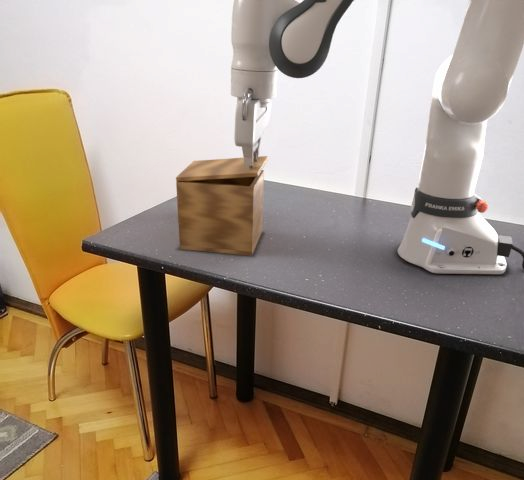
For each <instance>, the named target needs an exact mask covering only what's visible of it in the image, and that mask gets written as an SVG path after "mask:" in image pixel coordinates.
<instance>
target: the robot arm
mask: <svg viewBox="0 0 524 480" xmlns="http://www.w3.org/2000/svg"><path fill="white" fill-rule="evenodd" d="M355 1H356V0H302V1H301V2H299V1H297V0H234V1H233V5H232V11H231V12H232V13H231V15H232V16H231V29H230V30H231V31H230V41H231V46H232V59H231V63H230V95H231V96H232V97H234V98H236V105H235V115H234V117H235V118H234V135H233V140H234V145H235V146H236V147H239V148H240V147H241V151H242V157H243V158H244V161H243V164H244V165H245V166H252V164H253V160H254V156H253V148H254V145H255V143H256V142H258V147H257V149H256V153H257V157H259V156H260V149H261V147H260V146H261V141H262V136H263V135H264V133H265V132H266V130H267V129H268V127H269V124H270V123H269V122H270V119H271V118H270V117H271V110H272V102H273V99H275V98H276V97H277V96H278V95H277V93H278V75H279V74H278V73H279V71H280V72H281V73H282V74H284V75H285V76H286V77H289V78H293V79H303V78H304V79H305V78H308V77H310V76H312V75H314V74H315V73H317V72H318V71H319V70H320V69H321V68H322V66H324V64H325V62H326V59H327V58H328V55H329V53H330V50H331V45H332V41H333V37H334V34H335V32H336V29H337V28H338V26H339V24H340V23H341V21H342V19H343V18H344V16H345V15H346V14H347V12H348V11H349V9H350V8H351V7H352V5H354V2H355ZM454 46H455V47H454V50H453V53H452V54H451V55H450V56H449V57H448V58H446V59H445V60H444V61H443V62H442V64H441V65H440V66H439V68H438V69H437V72H436V74H435V77H434V83H433V88H432V95H431V102H430V109H429V116H428V122H427V131H426V137H425V145H424V146H425V147H424V152H423V158H422V162H421V168H420V173H419V178H418V182H417V183H418V184H417V186H416V187H415V189H414V193H413V195H412V199H411V204H410V212H409V213H410V219H409V222H408V225H407V228H406V231H405V233H404V235H403V238H402V240H401V243H400V244H399V246H398V248H397V254H398V256H399V257H400V258H402V259H403V260H404V261H406V262H407V263H410V264H412V265H415V266H418V267H421V268H423V269H424V270H426V271H428V272H430V273H432V274H443V275H444V274H445V275H446V274H447V275H448V274H449V275H451V274H454V275H455V274H456V275H503V274H504V273H505V272H506V270H507V266H508V265H507V261H506V258H509V257H510V254H511V251H512V250H513V251H514V252H517V253H518V254H519V255H520V256H521V257H522V263H521V267H522V270H524V250H522V249H521V248H519V247H517V246H515V245H514V244H513V237H512V236H507V235H498V233H497V232H496V230H495V229H494V227H492V225H491V224H490V223H489V222H488V221H487V220H486V219H485V218H484V217H483V216H482V215H481V214H483V213H485V212H487V210H488V209H489V206H488V203H487V201H485V200H483V199H482V198H481V196H479V195H478V194H477V193H476V192H475V189H476V185H477V181H478V177H479V174H480V170H481V166H482V161H483V158H484V153H485V151H484V150H485V137H486V130H487V123H488V120H490V119H491V118H492V117H494V116H495V115H496V114H498V113H499V111H500V110H501V109H502V107H503V106H504V105H505V102H506V100H507V98H508V93H509V89H510V85H511V83H512V80H513V77H514V75H515V72H516V69H517V66H518V63H519V60H520V57H521V54H522V51H523V48H524V0H468V2H467V6H466V10H465V14H464V18H463V21H462V24H461V28H460V31H459V34H458V38H457V41H456V44H455V45H454ZM480 213H481V214H480Z"/></svg>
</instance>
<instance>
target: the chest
mask: <svg viewBox="0 0 524 480" xmlns="http://www.w3.org/2000/svg"><path fill="white" fill-rule="evenodd" d="M264 181H265V170H264V169H262V171H261V172H260V174H259V176H258V177H242V178H225V179H209V180H192V181H176V182H175V186H176V205H177V223H178V239H179V241H178V242H179V250H185V251H186V250H187V251H195V252H196V251H197V252H206V253H207V252H208V253H218V254H229V255H239V256H240V255H241V256H250V257H252V256H253V254H254V253H255V249H256V247H257V245H258V243H259V240H260V238H261V236H262V233H263V214H264V213H263V208H264V183H265V182H264ZM228 183H229V184H230V185H228Z"/></svg>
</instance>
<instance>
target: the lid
mask: <svg viewBox="0 0 524 480" xmlns="http://www.w3.org/2000/svg"><path fill="white" fill-rule="evenodd" d="M257 147H258V142H256V143H255V145H254V148H253V156H254V160H253V164H252V166H245V165H244V164H243V161H244V157H234V158H232V157H231V158H216V159H202V160H193V161H192V162H191V163H190V164H189V165H187V167H186V168H184V169H183V170H182V171H181V172H180V173H179V174H178V175H177V176H176V177H175V181H176V182H177V181H192V180H209V179H225V178H242V177H258V176H259V174H260V172H261V171H262V170H264V167H265V166H266V164H267V162H268V160H269V156H268V155H261V156H260V155H259V156H258V157H257V153H256V149H257Z"/></svg>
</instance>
